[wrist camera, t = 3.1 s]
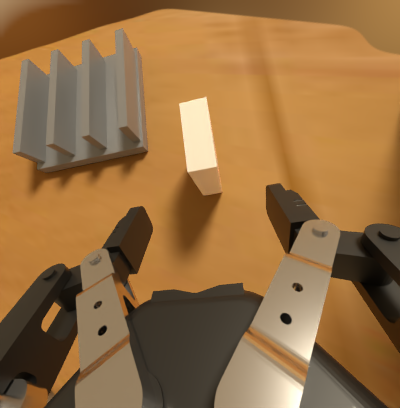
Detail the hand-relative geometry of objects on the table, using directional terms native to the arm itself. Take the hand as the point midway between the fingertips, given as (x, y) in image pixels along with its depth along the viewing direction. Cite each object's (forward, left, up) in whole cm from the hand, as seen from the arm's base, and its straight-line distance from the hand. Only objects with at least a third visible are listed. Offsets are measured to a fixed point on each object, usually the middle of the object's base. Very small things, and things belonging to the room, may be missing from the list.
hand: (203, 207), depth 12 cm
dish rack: (+10, -26, -12) cm, 30 cm away
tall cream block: (-2, -7, -12) cm, 14 cm away
